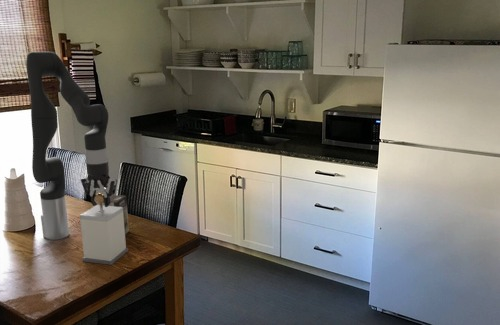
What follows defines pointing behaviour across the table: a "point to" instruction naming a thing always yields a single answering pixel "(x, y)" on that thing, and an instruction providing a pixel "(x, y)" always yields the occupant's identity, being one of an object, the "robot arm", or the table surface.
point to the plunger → (99, 200)
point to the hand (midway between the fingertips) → (101, 205)
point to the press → (103, 234)
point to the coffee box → (120, 202)
